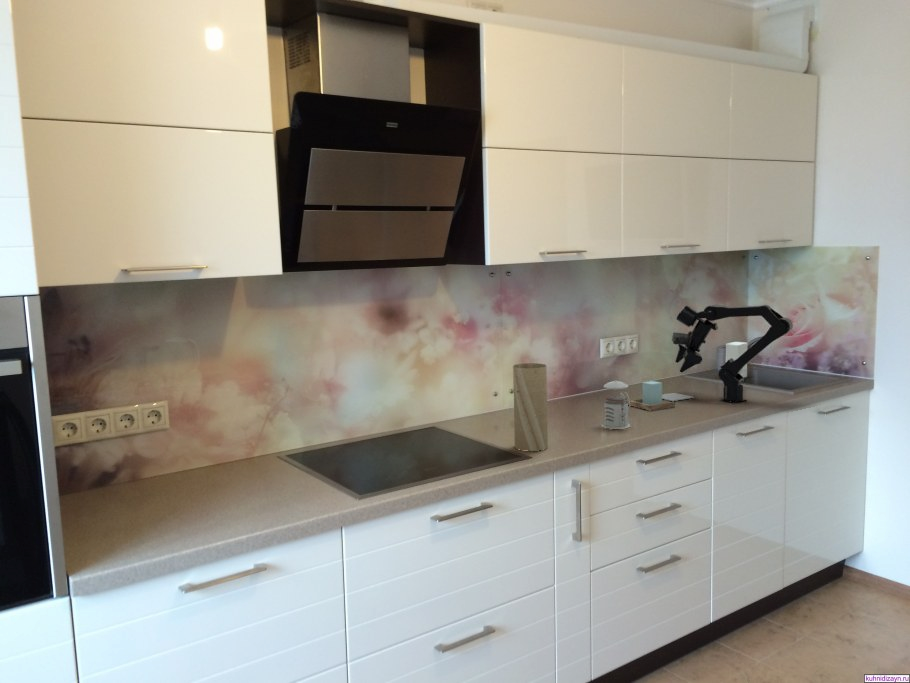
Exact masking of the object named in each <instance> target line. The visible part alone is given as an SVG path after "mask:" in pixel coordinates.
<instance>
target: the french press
mask: <svg viewBox="0 0 910 683" xmlns="http://www.w3.org/2000/svg"><path fill="white" fill-rule="evenodd" d="M612 356H614V357H615V360H617V357H618V356H620V353H619V352H618V351H615V352H613V353H612ZM603 388H605V389H608V390H623V389H624V390H625V389H627V388H629V385H628V384H627V383H626V382H622V381H621V380H620V381H619V380H617V379H615V380H613V381H610V382H606V383H605V384H604V385H603ZM627 399H628V400H629V406H628V400H627ZM630 400H631V399H630V398H629V395H628V392H626V391H624V392H623V393H622V392H619V395H617V392H615V395H607V396H605V401H604V408H603V409H604V421H603V423H602V425H601V427H602V426H603V427H606V428H610V429H609V430H612V429H624V428H628V427H630V425H631V424H630V423H629V411H630V407H631V406H630ZM603 427H602V428H603ZM606 428H605V429H606ZM624 430H625V429H624Z"/></svg>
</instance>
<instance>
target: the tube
mask: <svg viewBox="0 0 910 683" xmlns="http://www.w3.org/2000/svg"><path fill="white" fill-rule="evenodd" d="M547 371H548V370H547V365H546V364H544V363H532V362H531V363H525V362H524V363H518V364H517V363H516V364H514V365H513V366H512V374H513V375H512V379H513V382H512V384H513V415H514V416H513V418H514V419H513V420H514V422H513V423H514V449H515V448H517V449H520V450H528V451H538V450H543V449H546V448H547V449H549V440H548V439H549V435H548V434H549V430H548V429H549V427H548V425H549V424H548V383H547V382H548V376H547V375H548V373H547ZM547 449H546V450H547ZM543 451H544V450H543ZM538 452H539V451H538Z"/></svg>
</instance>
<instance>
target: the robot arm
mask: <svg viewBox="0 0 910 683" xmlns="http://www.w3.org/2000/svg"><path fill="white" fill-rule="evenodd" d="M759 316H760V317H762V318H763V319H764V320H765V321H766V322H767V323H768V324H769V325H770V327H769V329H768V330H767V331H766V333H765V334H764V335H762V337H760V339H759V340H757V341H755V343H754V344H752V345H751V346H750V347H749V348H747V351H746V352H744V353H743V354H742V355H741V356H740V357H739V358H737V359H736V360H733V358H731V359H729V360H728V361H727V362H726V361H725V362H724V364H722V365H720V367H719V368H720V369H719V370H718V377H719V379H720V380H721V381H722V383H723V385H724V386H723V398H720V400H721V401H723V400H726V401H725V402H728V401H731V402H730V403H733V402H736V403H739V402H738V401H742V402H746V401H745V400H746V399H745V398H743V397H744V385H743V383H744V380H745V377H744V378H743V377H742V376H741V375H740V374H739V373H740V372H741V370H742V369H743V368H744V366H745V365H746V364H747V365H748V363H750V362H751V361H752V360H753V359H754V358H755V357H758V355H759V354H760V353H761V352H763V351H764V350H765V349H766V348H767V347H768V346H770V345H771V344H772V343H773V342H774V341H776V340H778V339H779V338H782V337H783V336H784V335H786V334H788V333H790V332H791V331H792V330H793V328H794V327H793V326H794V324H793V321H792V320H791V319H790V318H788V317H784V316H782V315H781V314H780V313H779V312H777V311H776V310H774V308H772V307H771V306H770V305H768V304H763V305H746V306H745V305H744V306H743V305H742V306H727V305H721V304H711V305H708V306H706V307H705V308H704V309H703V310H702V311H697V310H695V309H694V308H692V307H691V306H689V305H685V306H684V308H683V309H681V311H680V312H679V313H678V315H677V317H676V318H675V320H676V321H677V322H679V323H681V324H683V325H684V326H686V327H687V328H690V327H693V329H692V330H689V331H688V333H683V332H676V331H675V332H674V331H673V333H672V338H671V342H672V344H673V345H677V346H678V351H677V354H676V357H675V361H674V362H675V363H678V364H679V362H682V360H683V359H684V360H683V362H682V364H681V366H680V368H679V373H683V372H685V371H687V370H689V369H690V368H693V367H694V366H696V365H700V364H701V363H702V362H703V358H702V355H701V353H700V351H701V349H700V348H701V347H702V345H703V344H706V342H707V340H706V339H707V337H708V335H709V334H710V332H711V331H712V330H713V331H717V330H719V326H718V323H717V322H714V321H718V320H722V319H727V318H736V317H738V318H739V317H759ZM704 319H705V320H704Z"/></svg>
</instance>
